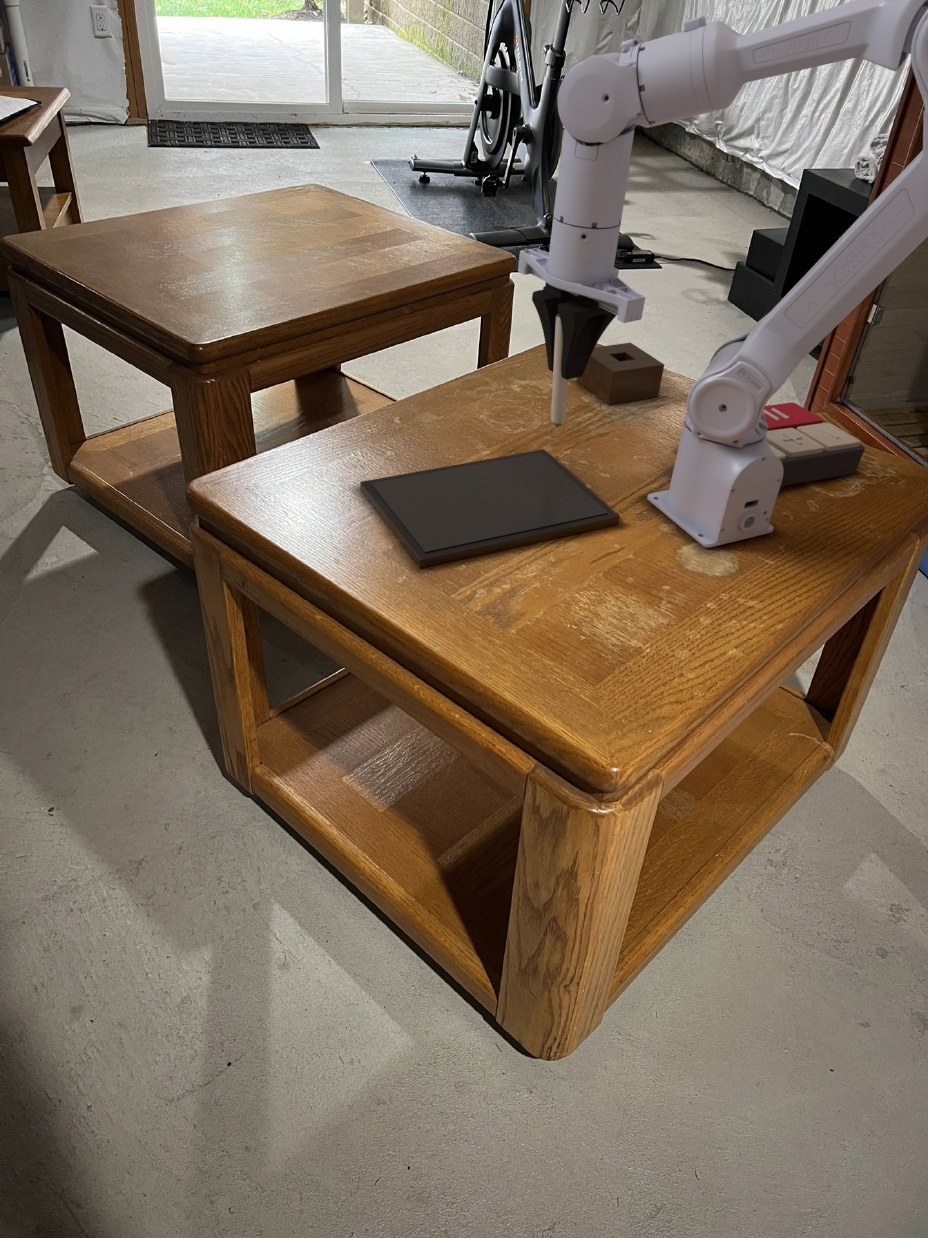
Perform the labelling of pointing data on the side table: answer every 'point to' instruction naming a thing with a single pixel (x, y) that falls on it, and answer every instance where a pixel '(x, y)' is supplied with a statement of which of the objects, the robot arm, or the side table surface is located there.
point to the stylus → (558, 379)
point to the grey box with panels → (809, 445)
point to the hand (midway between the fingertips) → (565, 372)
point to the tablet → (485, 506)
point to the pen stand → (622, 374)
